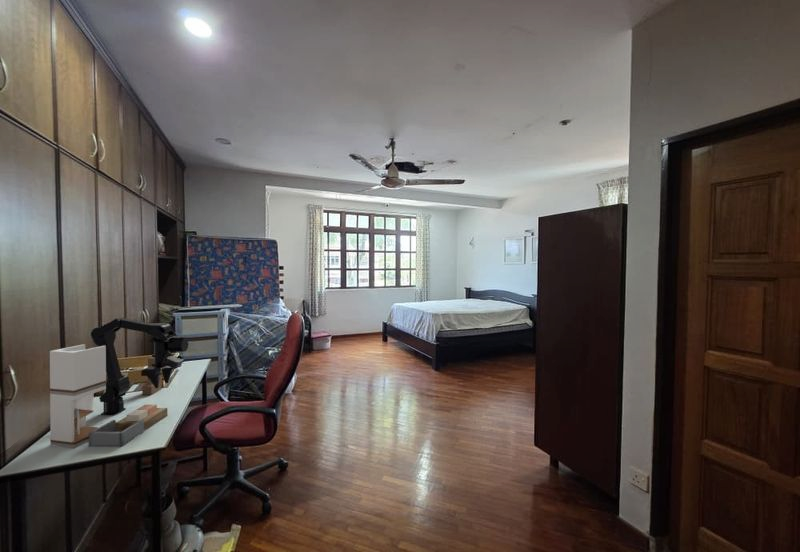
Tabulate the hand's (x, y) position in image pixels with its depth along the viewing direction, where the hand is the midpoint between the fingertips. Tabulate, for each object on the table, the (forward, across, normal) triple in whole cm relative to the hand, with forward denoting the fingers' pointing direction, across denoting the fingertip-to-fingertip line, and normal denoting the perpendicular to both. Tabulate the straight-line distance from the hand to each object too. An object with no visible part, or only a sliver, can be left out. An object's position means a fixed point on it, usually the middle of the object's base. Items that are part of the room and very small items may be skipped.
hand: (161, 385), depth 156 cm
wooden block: (+12, +24, +21) cm, 34 cm away
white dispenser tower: (+12, -25, +14) cm, 32 cm away
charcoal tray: (+12, -25, 0) cm, 28 cm away
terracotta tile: (+8, -10, 0) cm, 13 cm away
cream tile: (+8, -15, 0) cm, 17 cm away
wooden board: (+12, -12, 0) cm, 17 cm away
